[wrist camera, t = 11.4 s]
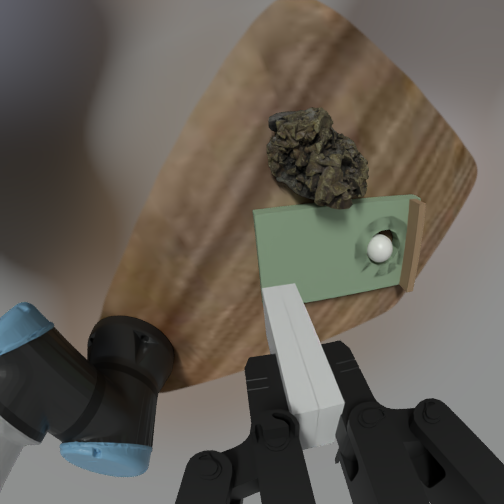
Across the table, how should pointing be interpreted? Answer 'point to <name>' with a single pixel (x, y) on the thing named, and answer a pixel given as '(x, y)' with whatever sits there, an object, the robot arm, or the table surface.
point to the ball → (379, 248)
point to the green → (338, 246)
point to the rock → (316, 158)
